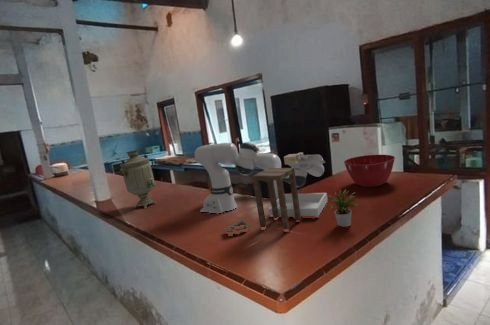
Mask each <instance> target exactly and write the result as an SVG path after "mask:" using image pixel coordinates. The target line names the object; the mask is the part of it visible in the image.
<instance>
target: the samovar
mask: <svg viewBox="0 0 490 325" xmlns="http://www.w3.org/2000/svg"><path fill="white" fill-rule="evenodd" d="M139 151H140V149H134V150H130V151H126V152H125V153H126V154H127V156H128V157H129V158H128V159H127V160H126V161H125V160H124V159H123V160H121V161H120V162H121V164H119V166H120V168H115V169H114V172H117V174H118V175H119V176H121V177H122V178H123V180H124V184H125V188H126V191H127V192H128V193H129V194H132V195H134V196H137V198H139V201H138V202H137V204H136V205H135V206H134V209H136V208H138V207H143V209H144V210H145V209H147V208H148V205H151V204H152V203H153V204H157V203H158V202H157V201H155V200H153V199H151V197H148V196H149V192H151V191H152V190H153V188H156V182H155V178H154V172H153V169H152V168H153V166H154V162H155V161H156V158H150V157H147V155H148V154H147V155H146V154H144V155H143V157H142V156H139ZM150 163H151V164H150Z"/></svg>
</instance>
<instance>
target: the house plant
mask: <svg viewBox="0 0 490 325" xmlns="http://www.w3.org/2000/svg"><path fill="white" fill-rule="evenodd" d="M349 191H350V190H347V188H345V189H344V190H343V192H342V188H339V195H338V193H337V192H335V191H334V193H332V192H331V194H332V195H333V194H334V195H335V197H336V198H335V197H334V196H332V195H327V196H324V197H327V198H330V199H331V202H332V203H333V204H335V205H329V206H328V209H329V210H331V209H336V210H335V211H334V216H335V219H336V223H337V226H338V225H339V226H350V225H352V210H351V209H349V208H352V207H353V208H357V206H358V203H356V202H357V199H353V198H355V197H356V196H353V195H354V194H355V193H357V192H353V193H351V194H350V195H349V196H348V197H347V199H346V196H347V194H348V193H349ZM356 198H357V197H356ZM355 201H356V202H355ZM353 202H354V203H353ZM339 226H338V227H339ZM350 227H351V226H350Z"/></svg>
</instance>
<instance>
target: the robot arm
mask: <svg viewBox="0 0 490 325" xmlns="http://www.w3.org/2000/svg"><path fill="white" fill-rule="evenodd" d="M194 158H195V161H196V162H197V164H200V165H201V166H203V168H205V170H206V172H207V173H208V174H209V178H210V183H211V187H210V188H209V189H208V192H210V194H208V196H207V197H206V198H205V199H204V200H203V204H202V205H203V207H202V208H201V209H200V213H201V212H209V213H208V214H210V213H221V212H224V211H229V210H232V211H234V210H236V209H237V208H238V205H237V202H236V200H235V196H234V191H233V185H232V183H231V177H230V173H229V170H227V169H226V168H224V167H222V166H221V165H226V166H227V165H228V166H229V165H231V166H232V165H234V169H236V172H237V173H238V174H240V175H241V176H250V175H252V174H253V172H254V167H255V166H256V168H259V169H261V170H263V171H264V170H266V169H268V168H282V161H281V158H280V157H279V155H278V154H276V153H271V152H270V153H268V152H266V153H265V152H263V153H261V152H259V149H258V148H257V146H256V145H255V144H254V143H252V142H249V141H248V142H247V141H246V142H243V143H241V145H240V147H239V151H238V148H237V146H236V144H235V143H232V142H221V143H213V144H205V145H201V146H199V147H197V148H196V149H195V150H194ZM300 159H301V162H299V163H297V164H289V165H288V166H289V167H290V168H294V170H295V178H296V185H297V188H302V187H304V186H305V184H306V182H307V181H306V180H307V176H308V174H309V175H311V176H314V177H321V176H323V175H324V172H325V166H324V165H323V164H326V161H325V160H324V158H323V156H322V155H320V154H304V153H303V154H300ZM220 164H221V165H220ZM283 182H285V183H288V184H290V178H289V176H287V177H285V178H284V179H283ZM235 208H236V209H235ZM233 209H234V210H233ZM229 212H230V211H229ZM224 213H225V212H224ZM221 214H222V213H221Z"/></svg>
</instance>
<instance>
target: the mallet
mask: <svg viewBox="0 0 490 325" xmlns="http://www.w3.org/2000/svg"><path fill="white" fill-rule="evenodd" d="M300 154H303V155H304V152H298V153H292V154H291V153H289V154H287V155H285V156H283V161H284V162H283V163H284V166H285V165H288V166H289V164H297V163H299V162H301V159H300Z"/></svg>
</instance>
